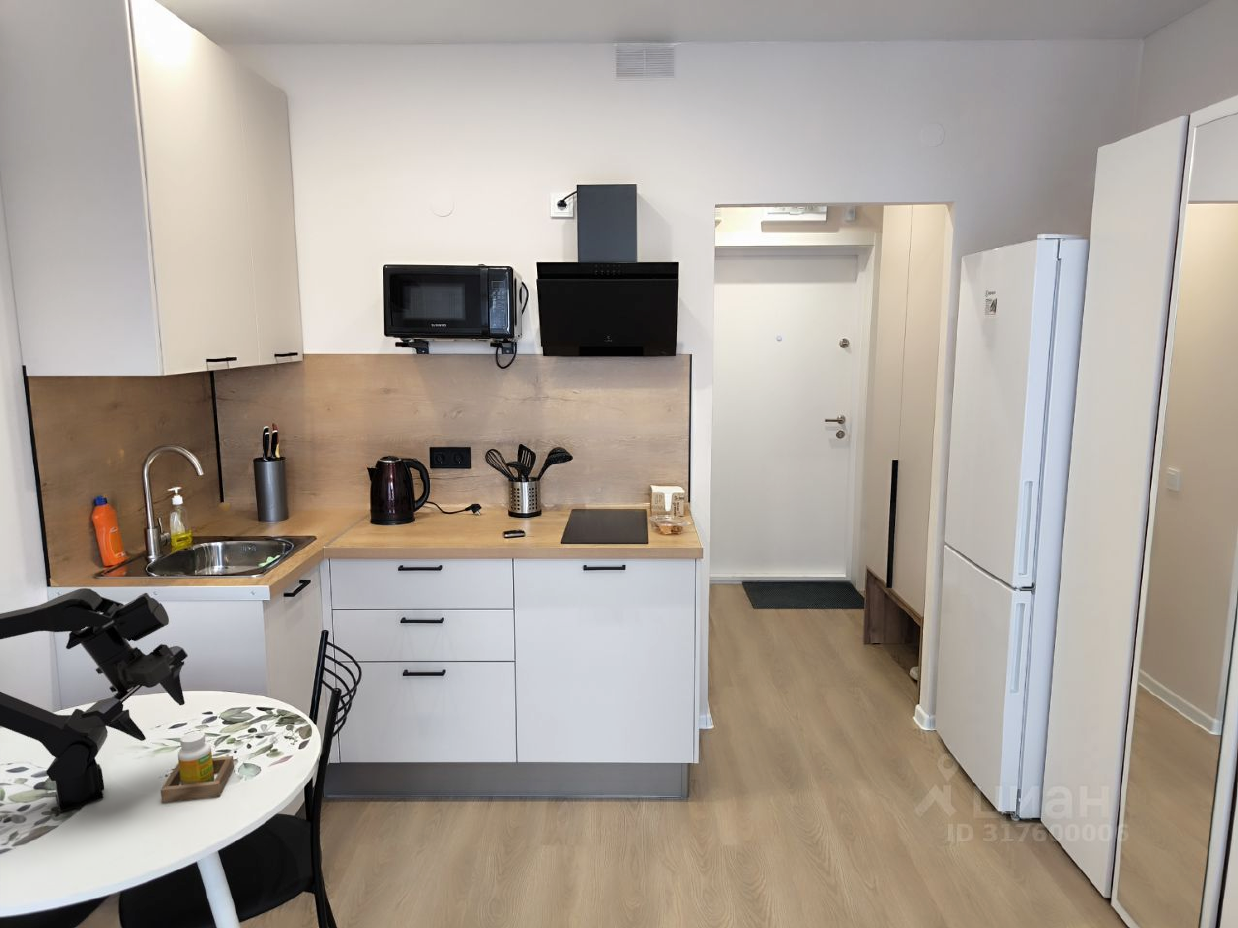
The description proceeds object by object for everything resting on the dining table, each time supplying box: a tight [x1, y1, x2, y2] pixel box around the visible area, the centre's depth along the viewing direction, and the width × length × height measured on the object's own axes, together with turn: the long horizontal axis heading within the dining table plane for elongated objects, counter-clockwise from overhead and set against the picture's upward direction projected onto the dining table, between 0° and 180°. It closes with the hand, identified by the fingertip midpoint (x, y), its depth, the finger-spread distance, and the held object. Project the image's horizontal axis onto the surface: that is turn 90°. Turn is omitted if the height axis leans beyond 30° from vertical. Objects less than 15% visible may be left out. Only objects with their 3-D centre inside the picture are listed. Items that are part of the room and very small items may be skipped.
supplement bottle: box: [177, 730, 215, 785], centre depth 147 cm, size 5×5×10 cm
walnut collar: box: [160, 755, 235, 804], centre depth 147 cm, size 10×10×2 cm
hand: (163, 721), depth 146 cm, fingers open, 9 cm apart
